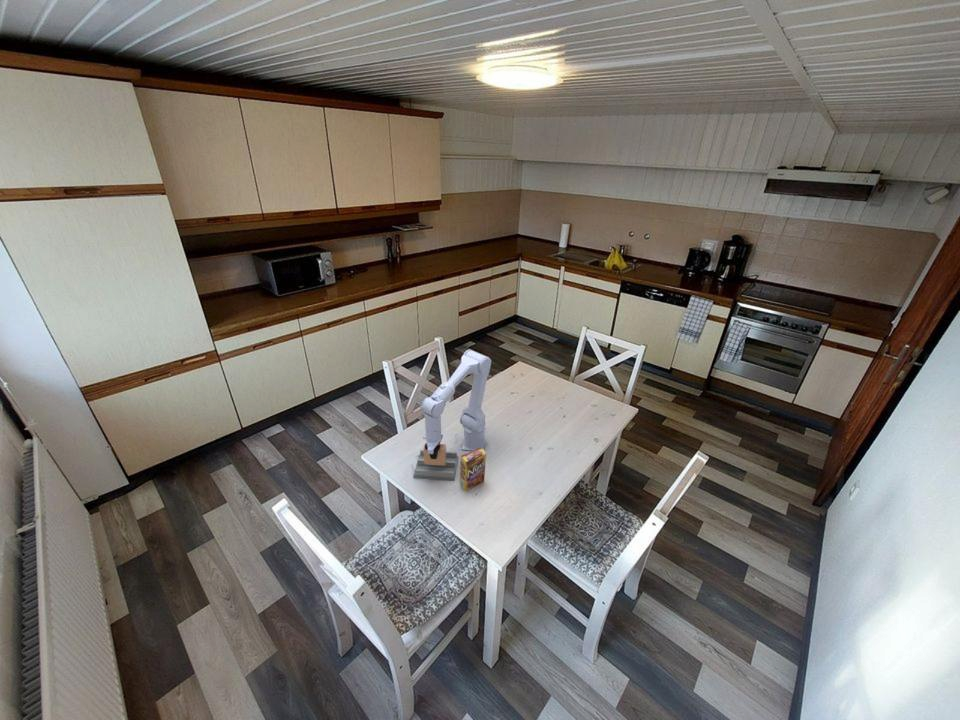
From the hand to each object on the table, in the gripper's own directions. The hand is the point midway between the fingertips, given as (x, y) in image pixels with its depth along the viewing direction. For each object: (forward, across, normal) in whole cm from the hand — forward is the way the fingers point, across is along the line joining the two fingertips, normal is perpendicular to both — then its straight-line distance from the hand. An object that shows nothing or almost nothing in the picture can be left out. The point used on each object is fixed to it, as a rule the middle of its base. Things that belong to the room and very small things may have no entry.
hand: (434, 455), depth 148 cm
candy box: (+10, +4, +15) cm, 18 cm away
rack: (+9, -3, 0) cm, 10 cm away
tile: (+4, 0, 0) cm, 4 cm away
